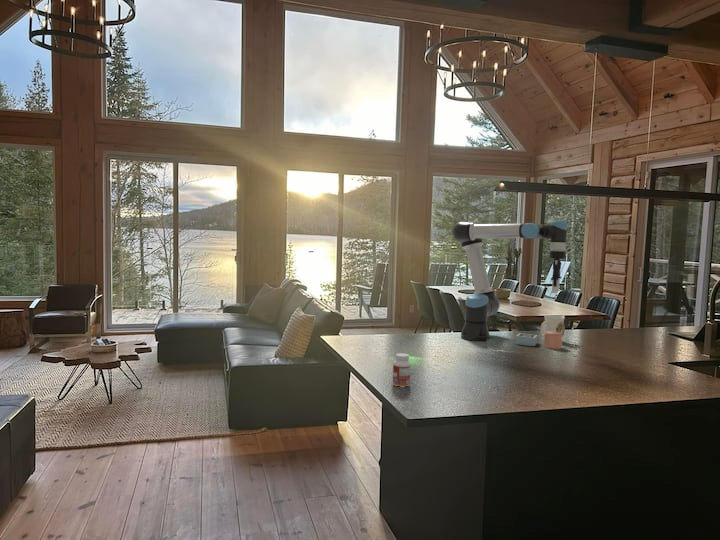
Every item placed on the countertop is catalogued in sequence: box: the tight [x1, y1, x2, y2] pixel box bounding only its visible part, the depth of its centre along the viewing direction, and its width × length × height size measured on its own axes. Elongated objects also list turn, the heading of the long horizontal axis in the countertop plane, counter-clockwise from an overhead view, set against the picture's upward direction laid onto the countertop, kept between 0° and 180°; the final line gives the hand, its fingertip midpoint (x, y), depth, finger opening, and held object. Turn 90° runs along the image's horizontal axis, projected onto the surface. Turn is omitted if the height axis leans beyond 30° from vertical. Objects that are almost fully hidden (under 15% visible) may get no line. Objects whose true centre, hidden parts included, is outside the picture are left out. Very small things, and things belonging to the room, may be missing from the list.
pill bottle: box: [392, 352, 411, 387], centre depth 187 cm, size 6×6×11 cm
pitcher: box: [540, 314, 566, 339], centre depth 282 cm, size 11×18×14 cm, turn 122°
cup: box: [543, 331, 564, 350], centre depth 263 cm, size 8×8×8 cm
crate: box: [515, 332, 538, 347], centre depth 269 cm, size 9×9×5 cm
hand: (555, 291), depth 271 cm, fingers open, 13 cm apart
